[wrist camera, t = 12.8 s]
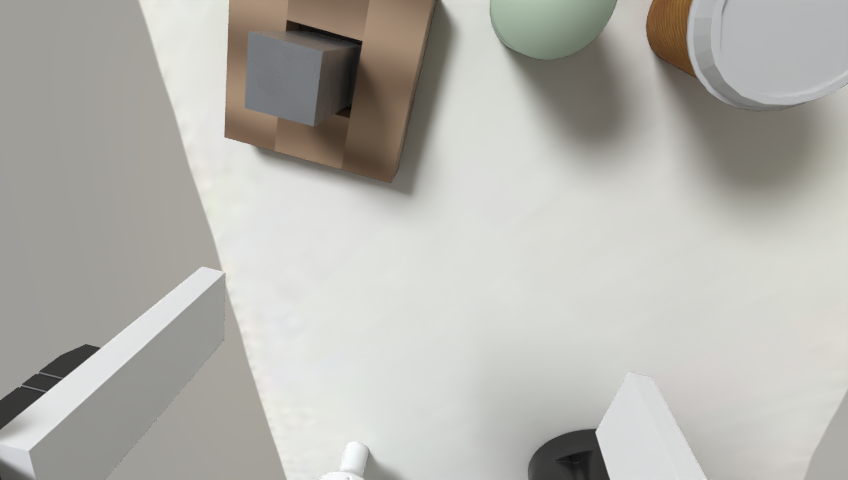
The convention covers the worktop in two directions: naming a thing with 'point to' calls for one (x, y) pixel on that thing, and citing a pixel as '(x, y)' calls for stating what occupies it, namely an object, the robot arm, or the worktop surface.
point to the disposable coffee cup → (755, 47)
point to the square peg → (300, 74)
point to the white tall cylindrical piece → (350, 463)
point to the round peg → (549, 25)
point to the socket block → (374, 90)
